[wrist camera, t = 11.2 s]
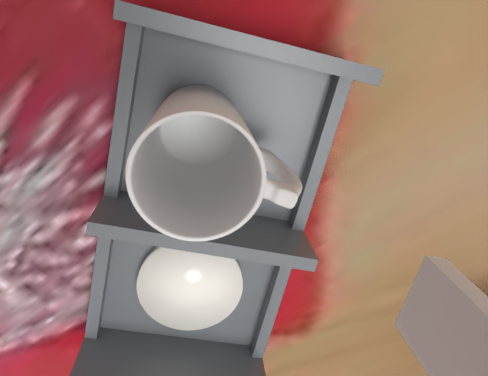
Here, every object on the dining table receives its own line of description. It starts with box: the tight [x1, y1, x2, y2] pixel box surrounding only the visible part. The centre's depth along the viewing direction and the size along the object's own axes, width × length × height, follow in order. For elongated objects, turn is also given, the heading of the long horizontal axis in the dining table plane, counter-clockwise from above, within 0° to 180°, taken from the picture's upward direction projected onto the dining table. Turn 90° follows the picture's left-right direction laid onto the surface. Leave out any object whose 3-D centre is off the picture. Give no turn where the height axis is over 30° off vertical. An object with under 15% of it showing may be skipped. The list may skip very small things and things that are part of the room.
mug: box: [125, 85, 302, 241], centre depth 25 cm, size 10×7×12 cm, turn 70°
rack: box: [70, 0, 384, 376], centre depth 31 cm, size 16×28×7 cm, turn 166°
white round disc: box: [136, 246, 243, 331], centre depth 35 cm, size 9×9×1 cm
